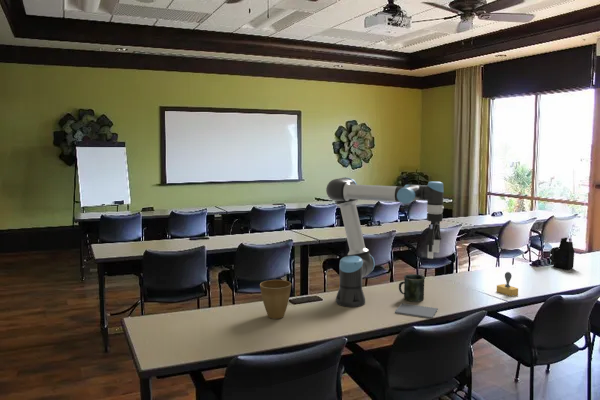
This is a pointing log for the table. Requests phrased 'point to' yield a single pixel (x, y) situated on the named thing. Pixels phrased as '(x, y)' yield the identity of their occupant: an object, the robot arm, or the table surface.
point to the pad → (416, 310)
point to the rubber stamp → (507, 286)
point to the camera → (563, 255)
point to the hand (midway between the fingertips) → (433, 255)
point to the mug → (413, 287)
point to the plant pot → (275, 297)
